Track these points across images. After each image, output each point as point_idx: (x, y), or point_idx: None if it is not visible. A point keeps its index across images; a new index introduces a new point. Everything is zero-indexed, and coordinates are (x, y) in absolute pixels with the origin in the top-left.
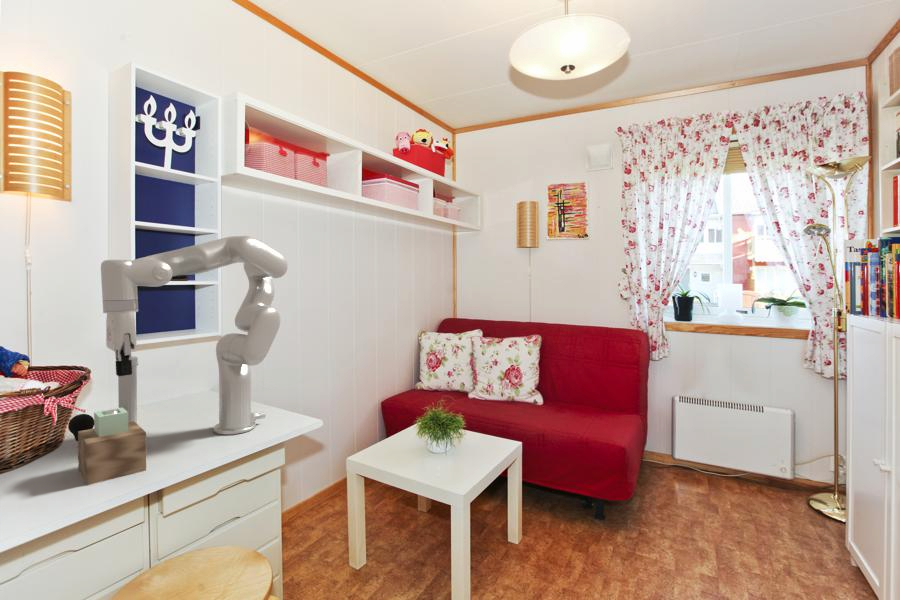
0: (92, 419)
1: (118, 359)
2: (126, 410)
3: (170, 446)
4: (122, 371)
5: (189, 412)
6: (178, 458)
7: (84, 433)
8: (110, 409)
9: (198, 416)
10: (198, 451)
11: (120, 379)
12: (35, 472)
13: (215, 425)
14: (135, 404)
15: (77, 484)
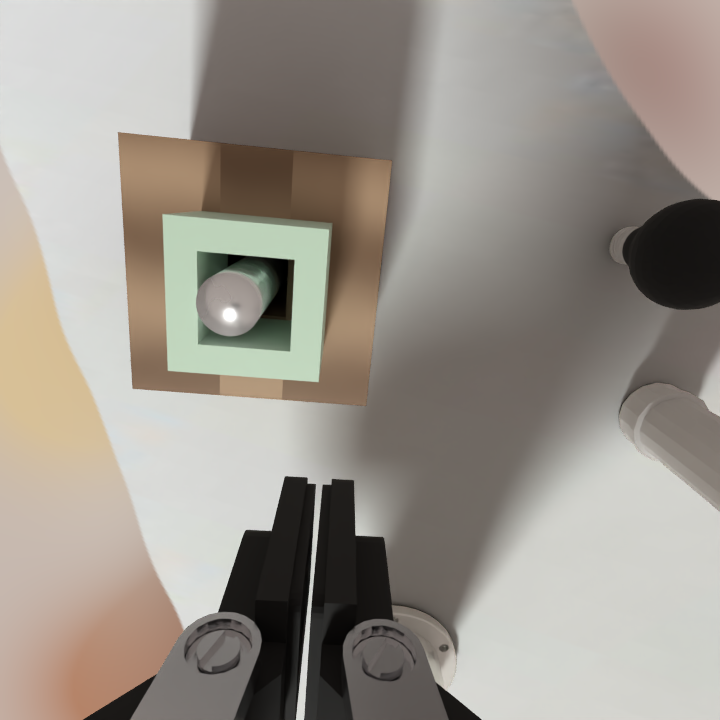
0: (670, 299)
1: (228, 646)
2: (699, 454)
3: (374, 465)
4: (242, 539)
5: (705, 631)
6: (229, 442)
7: (325, 175)
8: (319, 318)
9: (628, 633)
10: (249, 506)
11: None
12: (479, 44)
13: (436, 629)
14: (710, 502)
15: (221, 130)
